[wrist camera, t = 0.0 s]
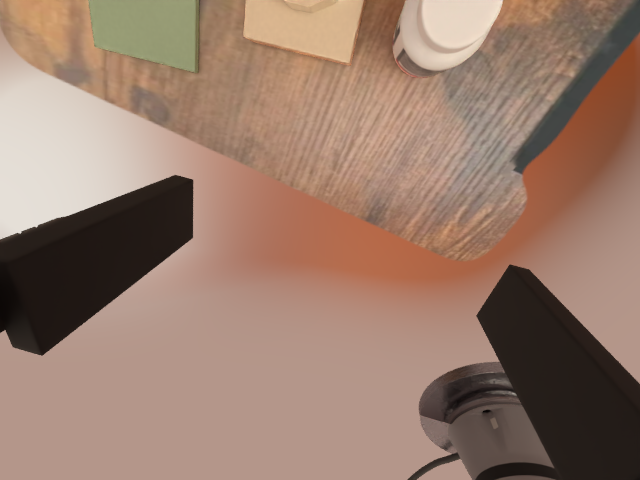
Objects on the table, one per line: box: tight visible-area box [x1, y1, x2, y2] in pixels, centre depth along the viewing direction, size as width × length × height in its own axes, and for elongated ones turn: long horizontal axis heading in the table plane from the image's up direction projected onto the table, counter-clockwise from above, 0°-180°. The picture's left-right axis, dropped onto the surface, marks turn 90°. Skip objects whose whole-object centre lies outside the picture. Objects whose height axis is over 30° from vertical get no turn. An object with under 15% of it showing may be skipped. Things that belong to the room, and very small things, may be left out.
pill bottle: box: [392, 0, 503, 78], centre depth 18 cm, size 5×5×10 cm
